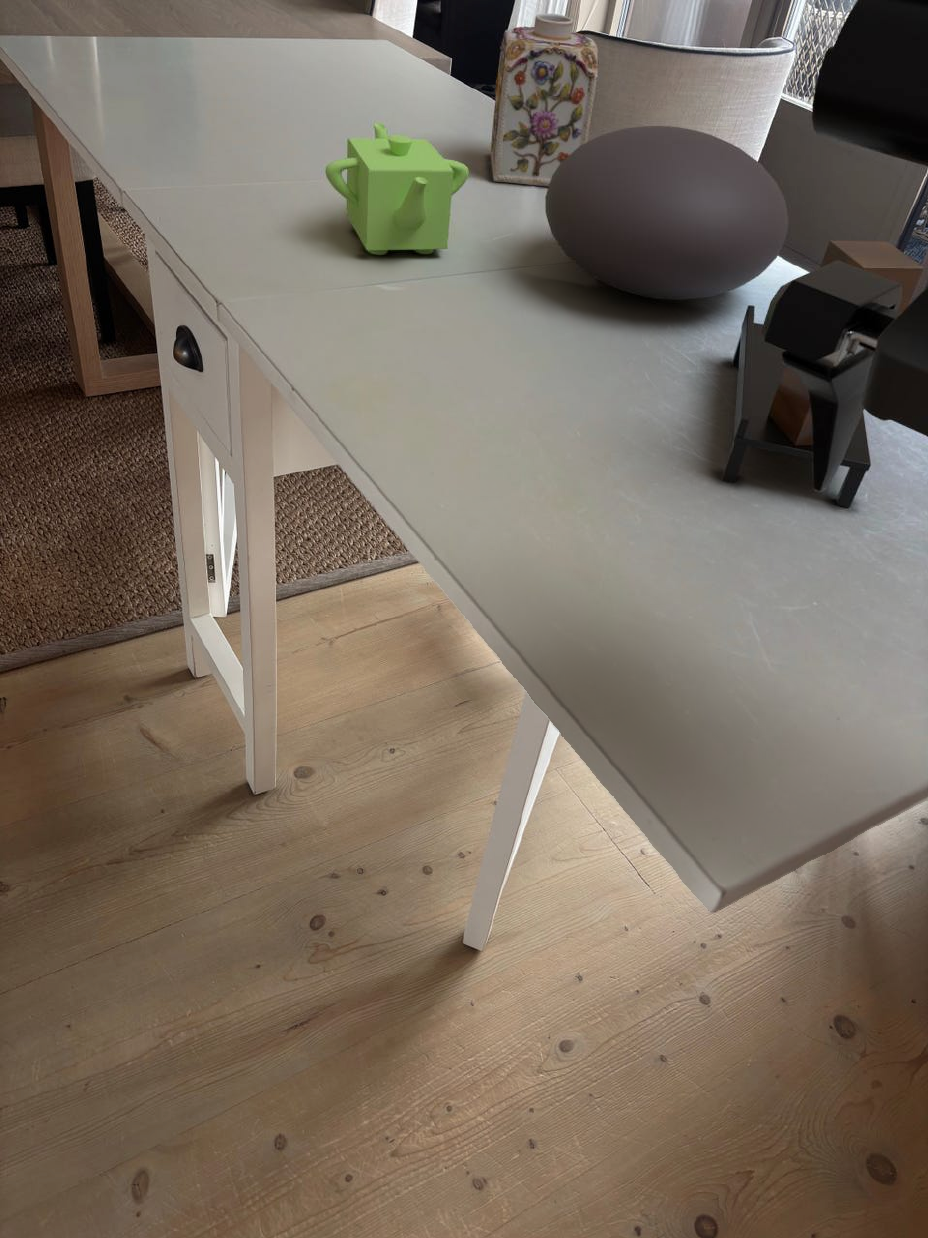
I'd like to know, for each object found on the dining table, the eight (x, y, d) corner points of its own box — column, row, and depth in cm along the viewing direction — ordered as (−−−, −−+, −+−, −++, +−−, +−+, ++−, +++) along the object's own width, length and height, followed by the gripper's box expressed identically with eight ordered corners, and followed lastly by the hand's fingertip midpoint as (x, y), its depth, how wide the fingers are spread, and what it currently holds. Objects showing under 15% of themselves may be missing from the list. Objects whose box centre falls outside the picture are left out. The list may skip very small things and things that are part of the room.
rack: (837, 381, 88) (859, 326, 84) (851, 509, 72) (879, 447, 68) (731, 360, 89) (748, 304, 86) (720, 480, 73) (741, 418, 69)
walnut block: (849, 444, 71) (924, 267, 62) (794, 445, 70) (863, 266, 61) (820, 413, 74) (888, 241, 65) (768, 414, 73) (829, 240, 64)
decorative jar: (572, 163, 131) (596, 12, 119) (580, 190, 123) (607, 31, 111) (487, 154, 131) (503, 2, 119) (489, 182, 122) (507, 20, 110)
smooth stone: (592, 342, 89) (625, 177, 79) (502, 242, 106) (520, 95, 96) (809, 328, 97) (864, 175, 87) (691, 236, 114) (726, 100, 104)
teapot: (373, 208, 110) (377, 108, 103) (477, 236, 107) (488, 134, 100) (305, 247, 100) (304, 139, 93) (419, 279, 96) (426, 169, 89)
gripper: (751, 167, 36) (657, 502, 46) (1303, 354, 27) (1033, 716, 38) (879, 130, 43) (771, 431, 53) (1359, 272, 34) (1116, 600, 44)
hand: (902, 530), depth 47 cm, fingers open, 9 cm apart
